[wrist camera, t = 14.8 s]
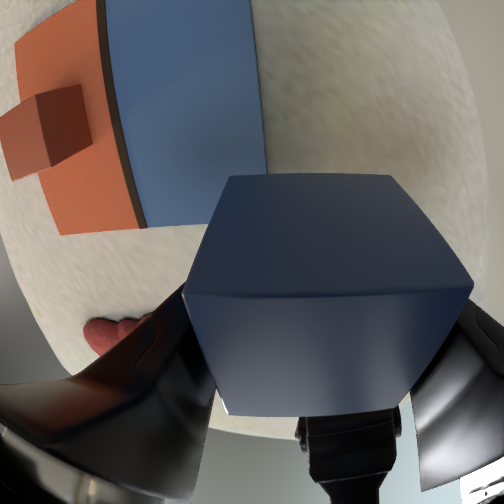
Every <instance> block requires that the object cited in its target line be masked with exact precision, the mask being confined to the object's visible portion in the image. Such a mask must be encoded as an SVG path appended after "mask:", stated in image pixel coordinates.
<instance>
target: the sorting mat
mask: <svg viewBox="0 0 504 504" xmlns="http://www.w3.org/2000/svg"><path fill="white" fill-rule="evenodd" d="M15 60H16V71H17V80H18V88H19V95H20V101H21V103H22V102H24V101H25V100H27V99H28V98H30V97H32V96H33V95H35V94H39V93H42V92H46V91H50V90H55V89H59V88H64V87H69V86H74V85H79V84H81V89H82V95H83V100H84V106H85V111H86V116H87V121H88V126H89V130H90V135H91V139H92V143H93V145H91V146H89V147H88V148H86V149H84V150H82V151H80V152H78V153H76V154H75V155H73V156H71V157H69V158H67V159H66V160H64V161H62V162H60V163H59V164H57V165H55V166H54V167H52V168H49V169H47V170H44V171H41V172H38V176H39V179H40V182H41V186H42V189H43V191H44V194H45V197H46V200H47V203H48V205H49V208H50V211H51V213H52V216H53V219H54V221H55V224H56V226H57V228H58V231H59V233H60V235H69V234H79V233H90V232H101V231H112V230H124V229H137V228H139V229H144V228H150V227H164V226H178V225H194V224H209V222H210V220H211V217H212V215H213V212H214V210H215V208H216V205H217V203H218V200H219V198H220V196H221V193H222V191H223V189H224V186H225V184H226V182H227V179H228V177H229V176H237V175H257V174H267V163H266V151H265V140H264V129H263V118H262V107H261V97H260V87H259V77H258V67H257V58H256V49H255V40H254V31H253V23H252V14H251V6H250V0H77V1H76V2H74V3H72V4H70V5H69V6H67V7H65V8H64V9H62V10H60V11H59V12H57V13H56V14H54V15H52V16H51V17H49V18H48V19H46V20H45V21H43V22H42V23H40V24H39V25H38V26H36V27H35V28H33V29H32V30H31V31H29V32H28V33H27V34H25V35H24V36H23V37H21V38H20V39H19V40H18V41H16V42H15Z"/></svg>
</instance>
